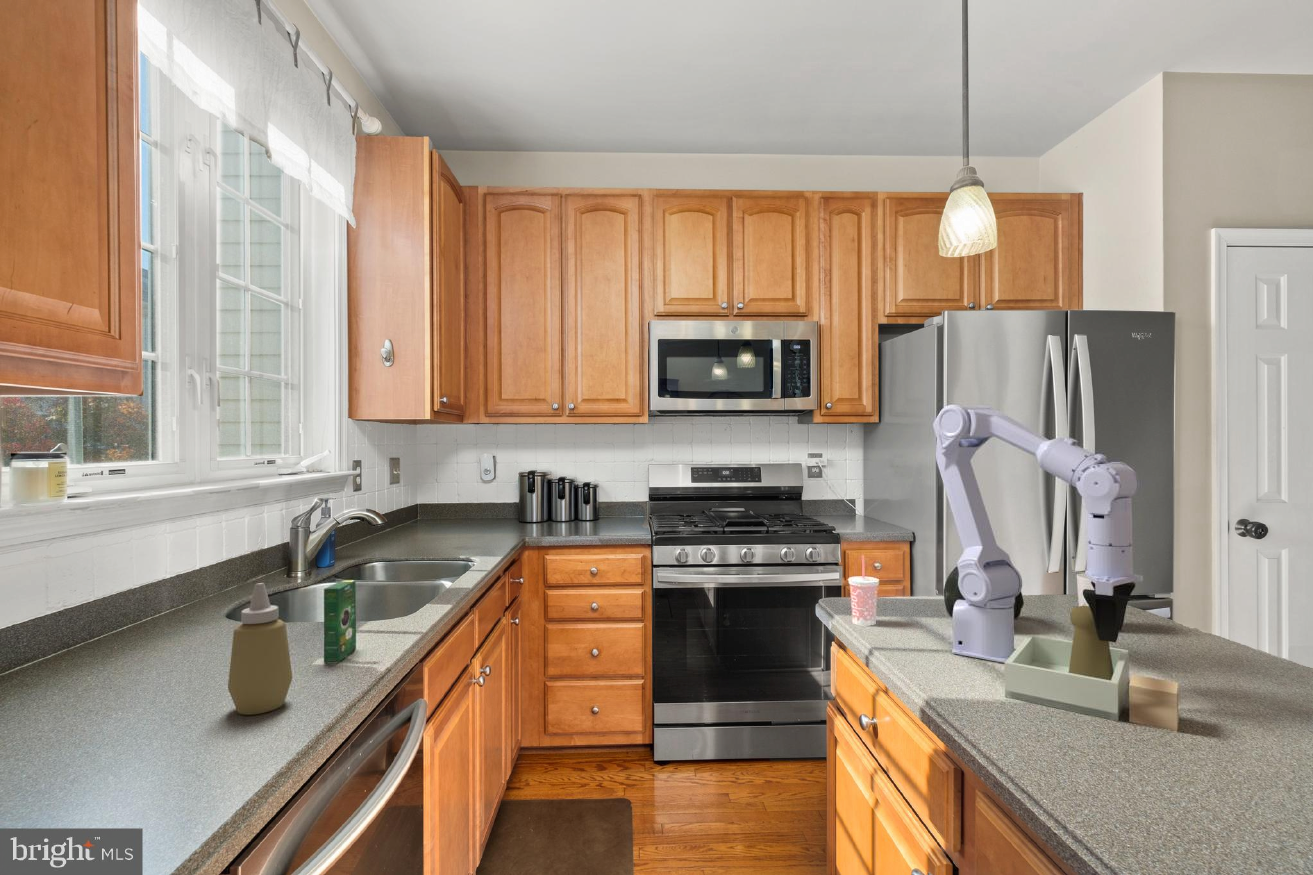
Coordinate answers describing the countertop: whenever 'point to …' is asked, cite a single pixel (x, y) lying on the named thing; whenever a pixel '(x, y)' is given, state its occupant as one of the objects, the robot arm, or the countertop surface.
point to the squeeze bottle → (259, 658)
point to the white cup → (1081, 585)
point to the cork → (1088, 647)
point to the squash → (954, 594)
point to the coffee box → (339, 621)
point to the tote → (1064, 679)
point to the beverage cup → (863, 598)
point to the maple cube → (1153, 702)
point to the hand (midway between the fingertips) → (1110, 634)
